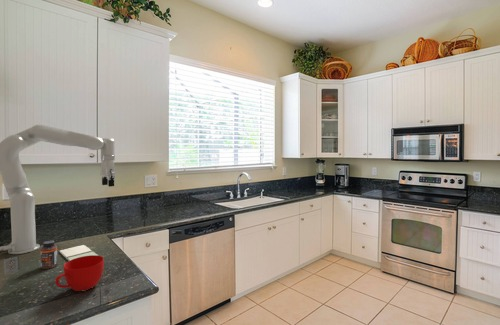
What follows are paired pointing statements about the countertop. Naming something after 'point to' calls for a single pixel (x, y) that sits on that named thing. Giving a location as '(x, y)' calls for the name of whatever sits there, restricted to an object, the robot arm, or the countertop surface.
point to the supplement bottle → (48, 255)
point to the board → (77, 252)
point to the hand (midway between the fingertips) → (108, 185)
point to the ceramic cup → (82, 272)
